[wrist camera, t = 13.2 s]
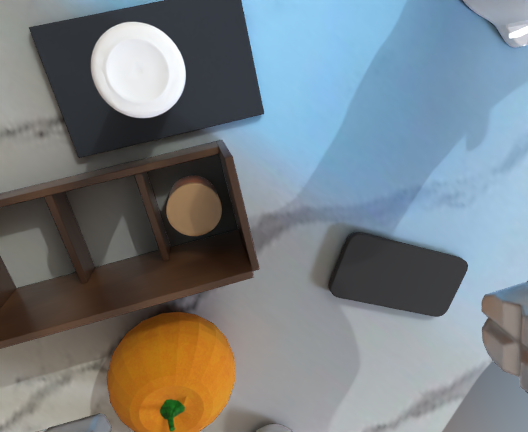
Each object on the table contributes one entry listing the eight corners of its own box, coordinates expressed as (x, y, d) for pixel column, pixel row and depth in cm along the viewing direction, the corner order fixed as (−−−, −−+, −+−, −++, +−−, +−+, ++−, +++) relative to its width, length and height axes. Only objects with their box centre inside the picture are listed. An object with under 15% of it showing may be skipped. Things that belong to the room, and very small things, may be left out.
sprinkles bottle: (192, 58, 32) (198, 44, 20) (174, 112, 33) (169, 132, 21) (135, 34, 31) (103, 2, 18) (119, 91, 32) (77, 98, 19)
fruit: (250, 359, 43) (268, 435, 34) (155, 411, 43) (147, 502, 34) (195, 277, 39) (198, 339, 30) (90, 335, 39) (60, 416, 30)
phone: (443, 318, 46) (327, 296, 41) (439, 315, 46) (324, 292, 42) (471, 261, 44) (353, 231, 39) (466, 258, 44) (349, 228, 40)
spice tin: (211, 168, 36) (214, 177, 33) (223, 215, 37) (227, 228, 34) (161, 181, 35) (158, 191, 32) (175, 227, 37) (175, 242, 34)
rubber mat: (237, -13, 32) (238, -15, 31) (262, 113, 35) (264, 113, 35) (31, 28, 30) (28, 27, 29) (80, 156, 33) (78, 158, 33)
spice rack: (222, 139, 35) (234, 158, 27) (245, 232, 38) (262, 275, 30) (-35, 201, 33) (-110, 243, 25) (12, 295, 36) (-39, 360, 28)
